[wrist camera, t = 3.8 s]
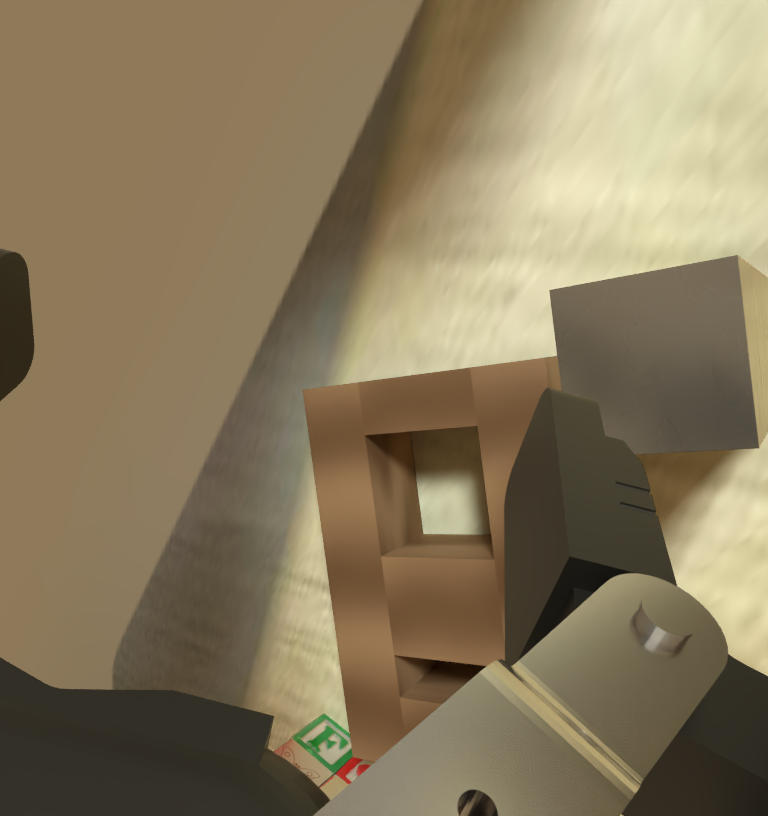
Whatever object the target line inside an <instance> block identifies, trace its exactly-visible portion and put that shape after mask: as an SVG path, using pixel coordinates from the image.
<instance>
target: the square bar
mask: <svg viewBox="0 0 768 816" xmlns="http://www.w3.org/2000/svg"><path fill="white" fill-rule="evenodd" d="M549 291H550V299H551V307H552V315H553V324H554V332H555V340H556V348H557V357H558V365H559V373H560V381H561V389H562V391H564V392H568V393H572V394H576V395H580V396H584V397H588V398H592V399H595V400H597V402H598V405H599V409H600V414H601V418H602V423H603V427H604V432H605V436H608V437H612V438H616V439H620V440H624V442H625V443H626V444H627V445H628V447H629V448H630V449H631V450H632V452H633V453H634V454H635V455H637V454H657V453H676V452H695V451H714V450H734V449H753V448H759V447H760V446H761V444H762V442H763V440H764V438H765V436H766V434H767V432H768V278H767V277H766V276H765V275H763V274H762V273H761V272H759V271H758V270H757V269H755V268H754V267H753V266H751V265H750V264H749V263H747V262H746V261H745V260H743V259H742V258H741V257H739V256H738V255H737V256H731V257H726V258H720V259H715V260H710V261H704V262H699V263H693V264H688V265H683V266H677V267H672V268H667V269H661V270H656V271H650V272H645V273H640V274H634V275H629V276H623V277H618V278H613V279H607V280H602V281H596V282H591V283H586V284H580V285H575V286H570V287H564V288H559V289H553V290H549Z"/></svg>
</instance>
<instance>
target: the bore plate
mask: <svg viewBox="0 0 768 816" xmlns="http://www.w3.org/2000/svg"><path fill="white" fill-rule="evenodd" d="M546 388H552V389H556V390H560V391H562V389H561V381H560V373H559V365H558V357H557V356H555V357H548V358H540V359H532V360H525V361H517V362H510V363H502V364H495V365H487V366H480V367H472V368H465V369H457V370H450V371H442V372H434V373H427V374H419V375H412V376H404V377H397V378H389V379H382V380H374V381H367V382H359V383H351V384H344V385H336V386H329V387H321V388H314V389H306V390H303V395H304V403H305V410H306V417H307V425H308V432H309V439H310V446H311V454H312V461H313V468H314V476H315V483H316V490H317V498H318V505H319V512H320V520H321V527H322V534H323V542H324V549H325V556H326V564H327V571H328V578H329V586H330V593H331V600H332V608H333V615H334V622H335V630H336V637H337V644H338V652H339V659H340V666H341V674H342V681H343V688H344V696H345V703H346V710H347V718H348V725H349V732H350V740H351V747H352V754H353V757H355V758H359V759H364V760H368V761H373V762H376V761H377V760H378V759H379V758H380V757H382V756H383V755H384V754H385V753H386V752H387V751H389V750H390V749H391V748H392V747H393V746H394V745H396V744H397V743H398V742H399V741H400V740H401V739H402V738H404V737H405V736H406V735H407V734H408V733H409V732H411V731H412V730H413V729H414V728H415V727H416V726H418V725H419V724H420V723H421V722H422V721H423V720H425V719H426V718H427V717H428V716H429V715H430V714H431V713H433V712H434V711H435V710H436V709H437V708H438V707H440V706H441V705H442V704H443V703H444V702H445V701H447V700H448V699H449V698H450V697H451V696H452V695H454V694H455V693H456V692H457V691H458V690H459V689H460V688H462V687H463V686H464V685H465V684H466V683H467V682H469V681H470V680H471V679H472V678H473V677H474V676H476V675H477V674H478V673H479V672H480V671H481V670H483V669H484V668H485V667H476V666H468V665H459V664H451V663H443V662H440V661H448V662H457V663H465V664H474V665H483V666H488V665H489V664H491V663H492V662H494V661H496V660H499V659H503V660H504V661H505V575H504V502H505V495H506V489H507V484H508V480H509V477H510V473H511V470H512V467H513V465H514V462H515V460H516V457H517V455H518V452H519V450H520V447H521V444H522V442H523V439H524V437H525V434H526V432H527V429H528V427H529V424H530V422H531V419H532V417H533V414H534V412H535V409H536V406H537V404H538V401H539V399H540V397H541V395H542V393H543V392H544V390H545V389H546ZM470 426H477V427H478V435H479V443H480V451H481V459H482V466H483V474H484V482H485V490H486V498H487V506H488V514H489V522H490V530H491V535H445V534H423V529H422V521H421V513H420V506H419V498H418V490H417V483H416V475H415V467H414V460H413V452H412V444H411V437H410V431H422V430H434V429H446V428H458V427H470Z"/></svg>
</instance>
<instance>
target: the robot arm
mask: <svg viewBox="0 0 768 816" xmlns="http://www.w3.org/2000/svg"><path fill="white" fill-rule="evenodd" d="M33 355H34V336H33V324H32V313H31V300H30V288H29V276H28V268H27V265H26V262H25V260H24V259H23V257H21V255H20V254H18V253H16V252H12V251H7V250H4V249H0V401H1V400H2V399H3V398H4V397H5V396H6V395H8V394H9V393H10V392H11V391H12V390H13V389H14V388H16V387H17V386H18V384H20V383H21V382H22V381H23V379H24V378H25V376H26V375H27V373H28V371H29V369H30V366H31V363H32V360H33ZM649 492H650V487H649V484H648V480H647V477H646V473H645V470H644V466H643V464H642V463H641V462H640V461H639V459H638V458H637V457H636V455H635V454H634V453H633V452H632V450H631V449H630V448H629V447H628V445H627V444H626V443H625V442H624V440H620V439H616V438H612V437H608V436H605V432H604V427H603V423H602V418H601V414H600V409H599V405H598V402H597V400H595V399H592V398H588V397H584V396H580V395H576V394H572V393H568V392H564V391H560V390H556V389H552V388H546V389H545V390H544V392H543V393H542V395H541V397H540V399H539V401H538V404H537V406H536V409H535V412H534V414H533V417H532V419H531V422H530V424H529V427H528V429H527V432H526V434H525V437H524V439H523V442H522V444H521V447H520V450H519V452H518V455H517V457H516V460H515V462H514V465H513V467H512V470H511V473H510V477H509V480H508V484H507V489H506V495H505V502H504V575H505V661H504V660H503V659H499V660H496V661H494V662H492V663H491V664H489V665H488V666H486V667H485V668H484V669H483V670H481V671H480V672H479V673H478V674H477V675H476V676H474V677H473V678H472V679H471V680H470V681H469V682H467V683H466V684H465V685H464V686H463V687H462V688H460V689H459V690H458V691H457V692H456V693H455V694H454V695H452V696H451V697H450V698H449V699H448V700H447V701H445V702H444V703H443V704H442V705H441V706H440V707H438V708H437V709H436V710H435V711H434V712H433V713H431V714H430V715H429V716H428V717H427V718H426V719H425V720H423V721H422V722H421V723H420V724H419V725H418V726H416V727H415V728H414V729H413V730H412V731H411V732H409V733H408V734H407V735H406V736H405V737H404V738H402V739H401V740H400V741H399V742H398V743H397V744H396V745H394V746H393V747H392V748H391V749H390V750H389V751H387V752H386V753H385V754H384V755H383V756H382V757H380V758H379V759H378V760H377V761H376V762H375V763H373V764H372V765H371V766H370V767H369V768H368V769H367V770H365V771H364V772H363V773H362V774H361V775H360V776H358V777H357V778H356V779H355V780H354V781H353V782H351V783H350V784H349V785H348V786H347V787H346V788H344V789H343V790H342V791H341V792H340V793H339V794H338V795H336V796H335V797H334V798H333V799H332V800H330V799H329V798H328V796H327V795H326V794H325V793H324V792H323V791H322V790H321V789H320V788H319V787H318V786H317V785H316V784H315V783H314V782H313V781H312V780H311V779H310V778H309V777H308V776H307V775H306V774H304V773H303V772H302V771H301V770H299V769H298V768H297V767H295V766H294V765H293V764H291V763H290V762H289V761H287V760H286V759H284V758H283V757H281V756H279V755H278V754H276V753H274V752H272V751H271V750H269V749H267V748H268V743H269V738H270V733H271V728H272V723H273V718H274V716H271V715H267V714H263V713H259V712H255V711H252V710H248V709H244V708H240V707H236V706H232V705H228V704H224V703H220V702H216V701H212V700H208V699H204V698H200V697H197V696H193V695H189V694H185V693H181V692H177V691H164V690H89V689H88V690H87V689H86V690H85V689H59V688H55V687H51V686H49V685H47V684H45V683H43V682H41V681H40V680H38V679H36V678H35V677H33V676H31V675H29V674H27V673H26V672H24V671H22V670H21V669H19V668H17V667H16V666H14V665H12V664H10V663H9V662H7V661H5V660H3V659H2V658H0V816H620V815H621V814H622V815H624V816H768V676H766V675H764V674H762V673H760V672H758V671H756V670H754V669H753V668H751V667H749V666H747V665H745V664H743V663H741V662H740V661H738V660H736V659H735V658H733V657H732V656H730V655H729V654H728V646H727V642H726V639H725V636H724V634H723V632H722V630H721V628H720V626H719V625H718V623H717V622H716V620H715V619H714V617H713V616H712V615H711V614H710V613H709V611H708V610H707V609H706V608H705V607H704V606H703V605H702V604H701V603H700V602H699V601H697V600H696V599H695V598H693V597H692V596H691V595H690V594H688V593H687V592H685V591H684V590H682V589H681V588H679V587H677V584H676V580H675V577H674V573H673V570H672V566H671V562H670V559H669V555H668V552H667V548H666V545H665V541H664V537H663V534H662V530H661V527H660V523H659V520H658V516H655V512H656V509H655V505H654V502H653V498H652V495H649Z"/></svg>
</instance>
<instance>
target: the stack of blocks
mask: <svg viewBox="0 0 768 816" xmlns="http://www.w3.org/2000/svg"><path fill="white" fill-rule="evenodd" d="M274 753H276V754H278V755H279V756H281V757H283V758H284V759H286V760H287V761H289V762H290V763H291V764H293V765H294V766H295V767H297V768H298V769H299V770H301V771H302V772H303V773H304V774H306V775H307V776H308V777H309V778H310V779H311V780H312V781H313V782H314V783H315V784H316V785H317V786H318V787H319V788H320V789H321V790H322V791H323V792H324V793H325V794H326V795H327V796H328V798H329V799H330V800H332V799H333V798H334V797H335V796H336V795H338V794H339V793H340V792H341V791H342V790H343V789H344V788H346V787H347V786H348V785H349V784H350V783H351V782H353V781H354V780H355V779H356V778H357V777H358V776H360V775H361V774H362V773H363V772H364V771H365V770H367V769H368V768H369V767H370V766H371V765H372V764H373V763H375V762H373V761H368V760H364V759H359V758H355V757H353V754H352V747H351V740H350V734H349V733H348V732H347V731H345V730H344V729H343V728H342V727H340V726H339V725H338V724H336V723H335V722H334V721H333V720H331V719H330V718H329V717H328V716H326V715H325V714H322V715H321V716H320V717H318V718H317V719H315V720H314V721H313V722H311V723H310V724H308V725H307V726H306V727H304V728H303V729H301V730H300V731H299V732H298V733H296V734H295V735H293V736H292V737H291V738H290V741H288V742H287V743H285V744H284V745H283V746H281V747H280V748H279V749H277V750H276V751H274Z"/></svg>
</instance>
